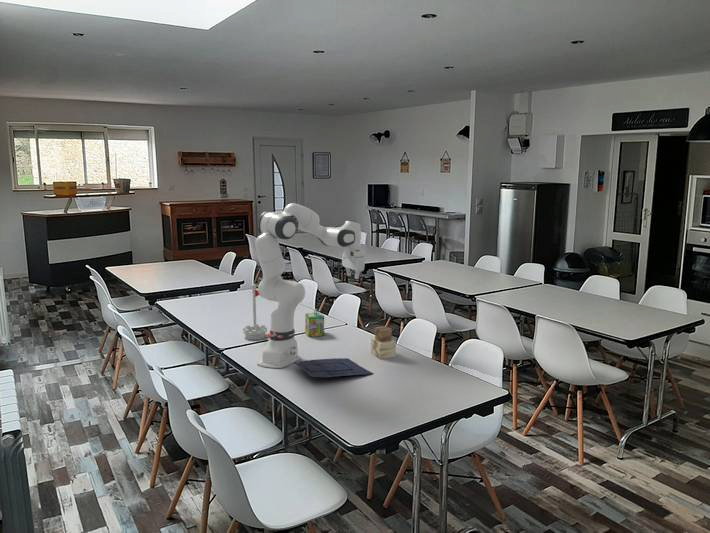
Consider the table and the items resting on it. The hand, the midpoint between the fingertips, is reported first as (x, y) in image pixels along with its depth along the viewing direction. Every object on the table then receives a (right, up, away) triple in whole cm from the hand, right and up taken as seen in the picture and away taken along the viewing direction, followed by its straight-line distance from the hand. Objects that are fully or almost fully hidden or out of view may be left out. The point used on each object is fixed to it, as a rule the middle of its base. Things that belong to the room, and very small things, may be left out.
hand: (352, 277), depth 281 cm
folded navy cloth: (-9, -43, -39) cm, 59 cm away
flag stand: (-54, -34, +14) cm, 65 cm away
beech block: (+15, -39, -17) cm, 45 cm away
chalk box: (-21, -33, +17) cm, 43 cm away
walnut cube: (+15, -31, -18) cm, 39 cm away
